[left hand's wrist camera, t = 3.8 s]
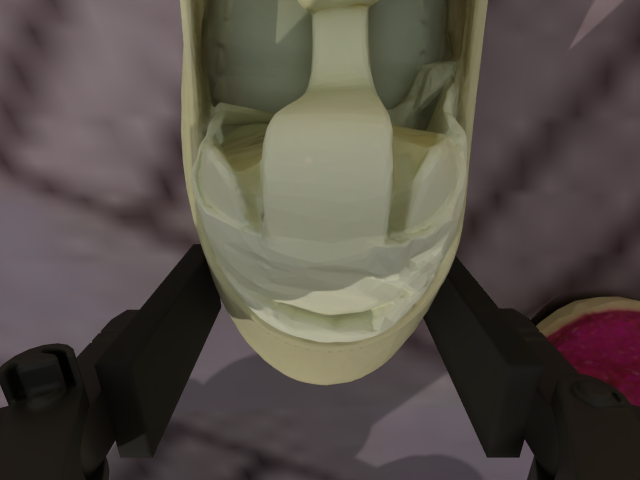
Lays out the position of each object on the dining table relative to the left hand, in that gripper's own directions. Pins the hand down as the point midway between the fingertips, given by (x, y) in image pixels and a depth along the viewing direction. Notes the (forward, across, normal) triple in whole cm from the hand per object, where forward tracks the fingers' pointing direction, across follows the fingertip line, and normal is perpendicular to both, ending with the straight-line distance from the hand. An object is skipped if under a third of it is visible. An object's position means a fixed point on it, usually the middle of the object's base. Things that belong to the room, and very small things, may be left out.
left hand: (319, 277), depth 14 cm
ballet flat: (0, 0, -8) cm, 8 cm away
